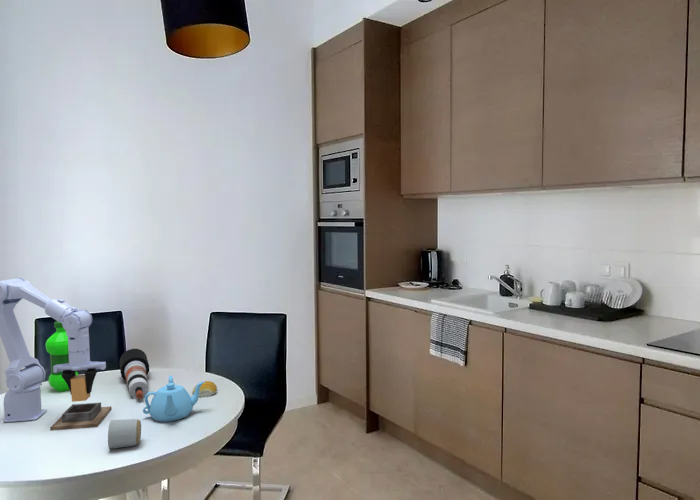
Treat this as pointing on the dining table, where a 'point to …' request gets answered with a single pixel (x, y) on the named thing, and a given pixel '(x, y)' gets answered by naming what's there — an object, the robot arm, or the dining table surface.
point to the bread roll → (206, 389)
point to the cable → (135, 372)
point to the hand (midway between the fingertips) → (81, 393)
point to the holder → (81, 416)
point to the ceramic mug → (124, 433)
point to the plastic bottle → (58, 356)
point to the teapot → (171, 402)
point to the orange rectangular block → (79, 388)
